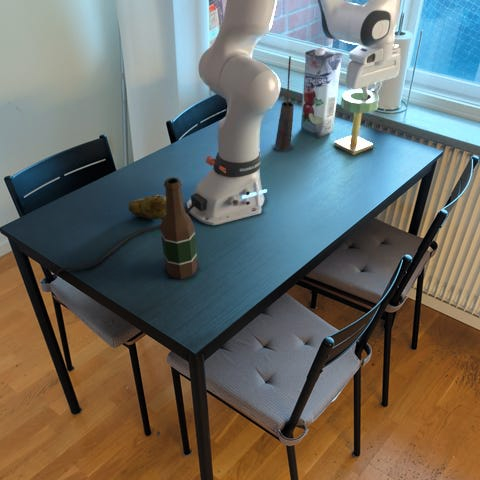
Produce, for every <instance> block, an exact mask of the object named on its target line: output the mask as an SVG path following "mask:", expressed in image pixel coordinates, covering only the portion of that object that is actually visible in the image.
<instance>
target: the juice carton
mask: <svg viewBox="0 0 480 480" xmlns="http://www.w3.org/2000/svg"><path fill="white" fill-rule="evenodd" d="M304 53H305V55H304V56H305V57H304V58H305V62H304V75H303V77H304V78H303V88H302V89H303V91H302V103H301V104H302V105H301V119H300V120H301V121H300V128H301V130H302V131H304V132H306V133H308V134H310V135H312V136H314V137H316V138H321V137H323V136H325V135H328V134H330V133H332V132H333V130H334V125H335V118H336V109H337V100H338V91H339V83H340V74H341V65H342V60H343V59H342V58H343V53H342V52H338V51H333V50H330V49H328V48H326V47H324V46H320V47H316V48H314V49H311V50H307V51H306V52H304Z"/></svg>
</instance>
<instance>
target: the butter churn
mask: <svg viewBox="0 0 480 480" xmlns="http://www.w3.org/2000/svg"><path fill="white" fill-rule="evenodd" d="M291 61H292V56H291V55H289V56H288V68H287V70H288V71H287V88H286V89H287V91H286V101H282V102H281V105H280V106H281V107H280V112H279V119H278V125H277V132H276V137H275V144H274V148H275V150H276V151H279V152H286V151H289V150H290V149H292V148H291V147H292V136H293V135H292V134H293V131H292V130H293V122H294V107H295V106H294V102H292V101H289V99H290V97H289V95H290V94H289V93H290V79H291V78H290V77H291V76H290V75H291V63H292V62H291Z"/></svg>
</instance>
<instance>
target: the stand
mask: <svg viewBox="0 0 480 480" xmlns="http://www.w3.org/2000/svg"><path fill="white" fill-rule="evenodd" d="M362 115H363V113H354V112H353V118H352V125H351V133H350V135H349V136H346V137H344V138H343V137H342V138H340V139H338V140H335V141H333V145H334V146H335V147H337V148H339V149H340V150H343V151H345V152H347V153H348V154H350V155H352V156H353V155H356V154H359V153H362V152H364V151H367V150H370V149H372V148H374V144H373V143H372V142H370V141H368V140H366V139H364V138H362V137H360V136H359V135H360V129H361V122H362Z"/></svg>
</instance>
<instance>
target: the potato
mask: <svg viewBox="0 0 480 480" xmlns="http://www.w3.org/2000/svg"><path fill="white" fill-rule="evenodd" d="M166 209H167V205H166V195H164V194H153V195H148V196H146V197H144V198H138V199H133V200H132V201H130V202H129V204H128V211H129V212H130V214H132V216H135V217H141V218H143V219H148V220H158V219H159V220H161V221H162V220H163V218H164V216H165V215H166Z"/></svg>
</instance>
